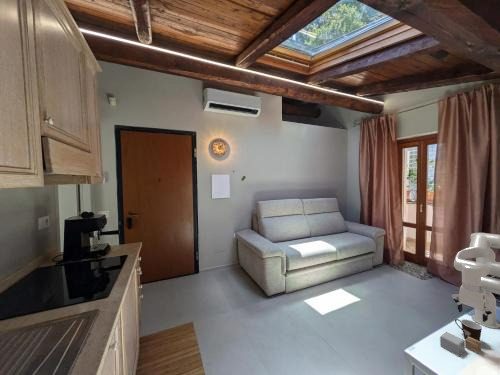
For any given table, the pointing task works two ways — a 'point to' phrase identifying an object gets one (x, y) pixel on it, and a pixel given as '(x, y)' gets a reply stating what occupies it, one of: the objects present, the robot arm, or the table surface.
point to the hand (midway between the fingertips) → (472, 315)
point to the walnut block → (473, 345)
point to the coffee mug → (470, 329)
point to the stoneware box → (452, 343)
